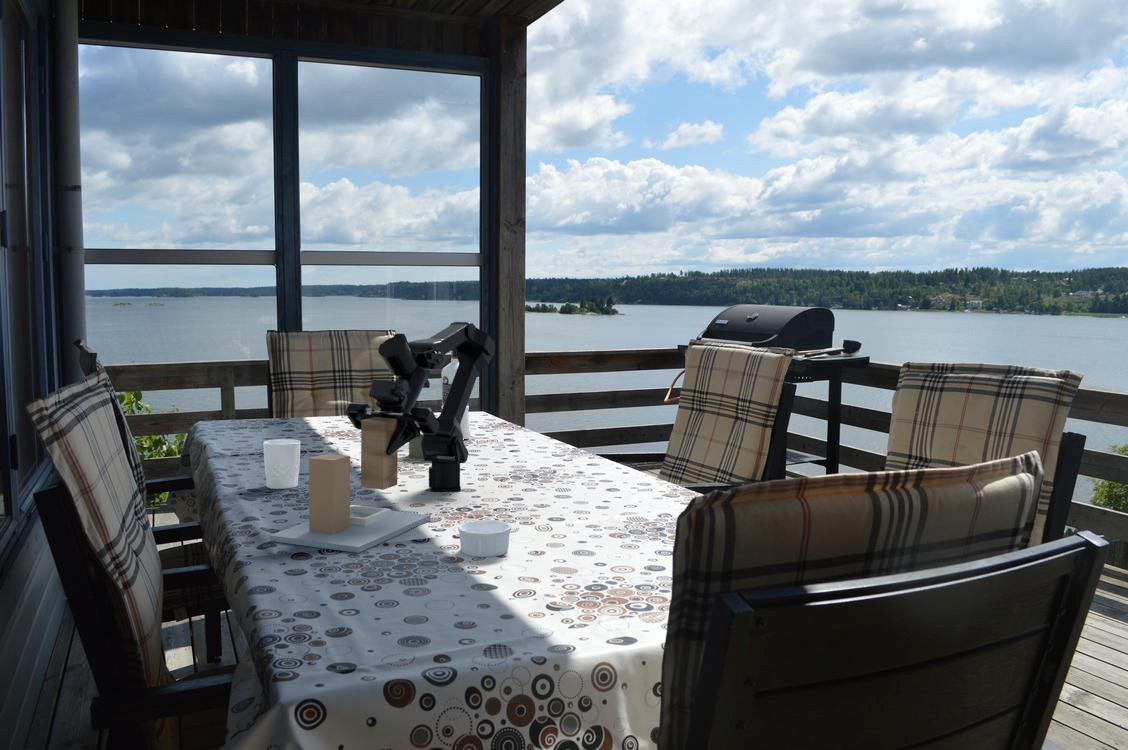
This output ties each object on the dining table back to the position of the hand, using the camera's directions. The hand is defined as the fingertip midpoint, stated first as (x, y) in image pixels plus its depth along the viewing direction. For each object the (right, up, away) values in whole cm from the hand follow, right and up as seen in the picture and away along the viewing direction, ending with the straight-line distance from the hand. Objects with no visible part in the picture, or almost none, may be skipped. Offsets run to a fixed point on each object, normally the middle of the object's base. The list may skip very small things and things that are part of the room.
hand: (375, 453), depth 169 cm
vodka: (+3, -5, +99) cm, 99 cm away
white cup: (-27, -10, +27) cm, 40 cm away
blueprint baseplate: (-2, -13, -9) cm, 16 cm away
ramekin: (+23, -15, -21) cm, 34 cm away
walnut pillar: (0, -7, +2) cm, 7 cm away
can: (0, -7, +68) cm, 69 cm away
